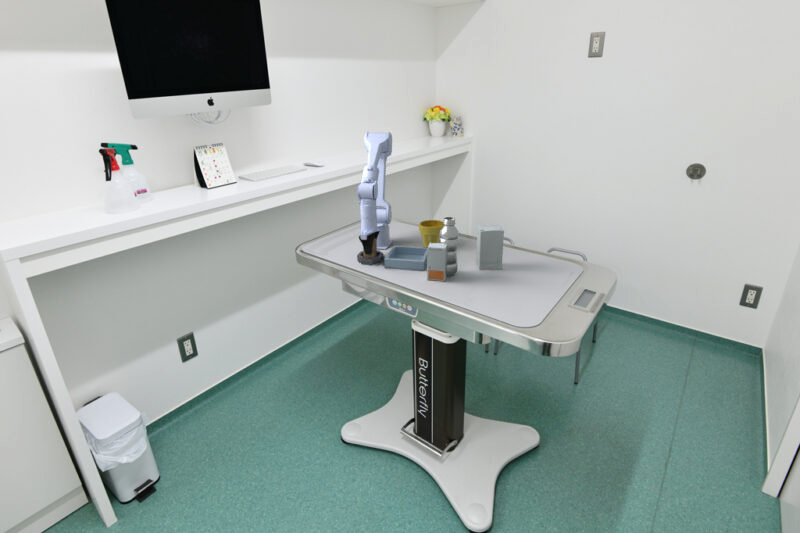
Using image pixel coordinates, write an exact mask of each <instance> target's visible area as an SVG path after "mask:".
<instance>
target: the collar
mask: <svg viewBox="0 0 800 533" xmlns="http://www.w3.org/2000/svg"><path fill="white" fill-rule="evenodd" d="M356 260H357V261H358V262H357V263H359V264H360V263H361V264H360V265H363V266H375V265H378V264H379V265H380V264H382V263H383V261H385V257H384V253H383V252H382V251H381V250H380V249H379V250H378V249H377V257H373V258H365V257H364V254H363V250H362V251H359V252H358V253H357V255H356Z"/></svg>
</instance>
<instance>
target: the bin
mask: <svg viewBox="0 0 800 533" xmlns="http://www.w3.org/2000/svg"><path fill="white" fill-rule="evenodd" d="M427 262H428V248H425V247H424V246H423V247H422V246H421V247H420V246H407V245H405V246H403V245H393V246H392V248H391V249H390V251H389V252H388V253H387V255H386V256H385V257H384V269H390V270H391V269H393V270H404V271H405V270H406V271H418V272H424V270H425V268H426V266H427Z"/></svg>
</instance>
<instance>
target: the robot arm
mask: <svg viewBox="0 0 800 533" xmlns="http://www.w3.org/2000/svg"><path fill="white" fill-rule="evenodd" d="M363 140H364V147H365V149H366V151H367V165H365V166H364V167H363V170H362V175H361V176H362V177H361V180H360V181H361V182H360V183H358V186H357V188H356V190H357V199H358V204H359V205H360V206H359V208H360V224H361V226H360V227H361V228H360V235H358V240H359V242H360V243H361V245H362V249H363V248H364V251H365V254H367V255H371V253H372V245H373V241H374V239H377V250H378V249H379V250H387V249H388V248H389V246H390V245H391V244H392V242H393V240H391V239H390V238H391V237H390V226H389V225H390V224H391V223H392V216H393V215H392V213H393V212H392V206H391V204H390V202H388V201H387V200H386V199H385V197H386V196H385V194H386V171H387V169H386V168H387V159H388V157H390V156H392V152H393V135H392V133H391V132H390V131H388V132H374V131H373V132H372V131H371V132H369V131H366V133H365V134H364V138H363Z"/></svg>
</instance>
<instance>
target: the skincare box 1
mask: <svg viewBox="0 0 800 533" xmlns="http://www.w3.org/2000/svg"><path fill="white" fill-rule="evenodd" d="M446 262H447V245H445V244H441V243H430V244H429V246H428V262H427V264H426V266H427V269H426V273H427V275H426V280H427V281H429V280H430V281H438V282H445V280H446V279H447V278H446V277H447V276H446Z"/></svg>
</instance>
